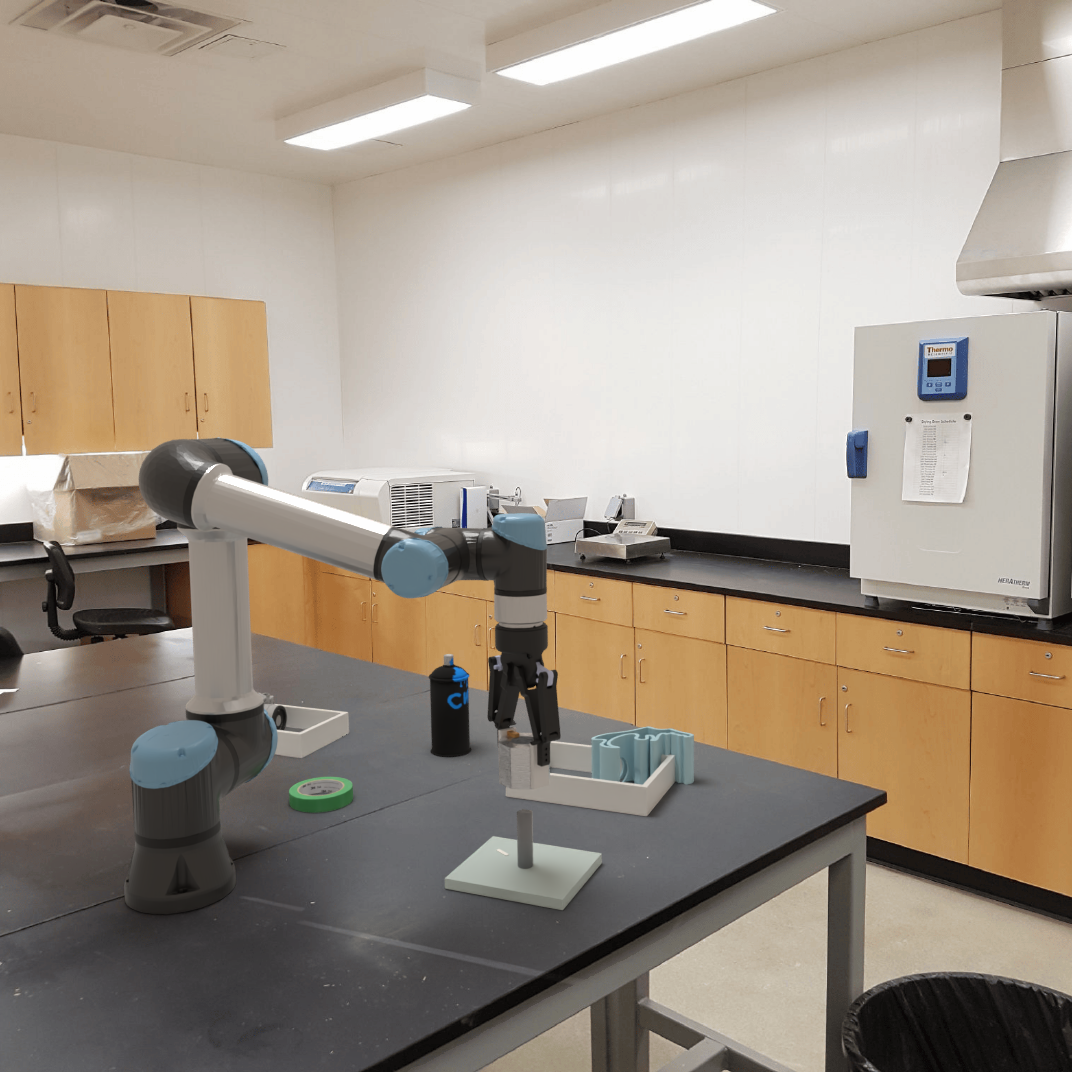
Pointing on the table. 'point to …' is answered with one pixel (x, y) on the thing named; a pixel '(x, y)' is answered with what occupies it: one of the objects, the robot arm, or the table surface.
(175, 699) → the table surface
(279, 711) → the camera
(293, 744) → the camera corral
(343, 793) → the tape roll
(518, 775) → the grey piece
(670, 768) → the dispenser corral
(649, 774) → the light blue curvy piece
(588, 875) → the peg stand
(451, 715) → the aerosol can
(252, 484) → the robot arm
